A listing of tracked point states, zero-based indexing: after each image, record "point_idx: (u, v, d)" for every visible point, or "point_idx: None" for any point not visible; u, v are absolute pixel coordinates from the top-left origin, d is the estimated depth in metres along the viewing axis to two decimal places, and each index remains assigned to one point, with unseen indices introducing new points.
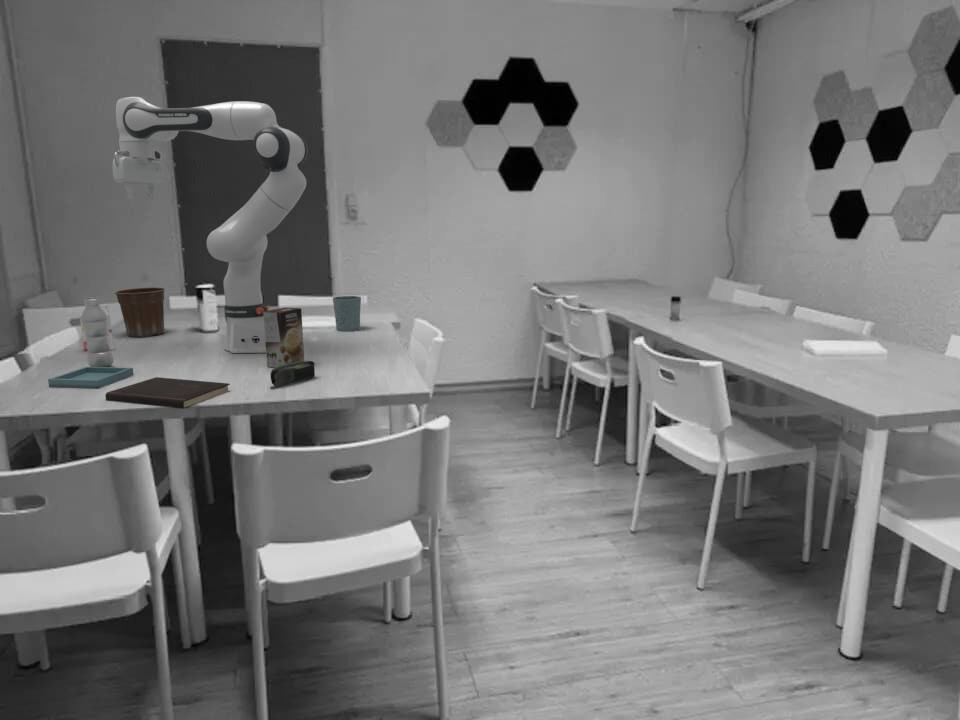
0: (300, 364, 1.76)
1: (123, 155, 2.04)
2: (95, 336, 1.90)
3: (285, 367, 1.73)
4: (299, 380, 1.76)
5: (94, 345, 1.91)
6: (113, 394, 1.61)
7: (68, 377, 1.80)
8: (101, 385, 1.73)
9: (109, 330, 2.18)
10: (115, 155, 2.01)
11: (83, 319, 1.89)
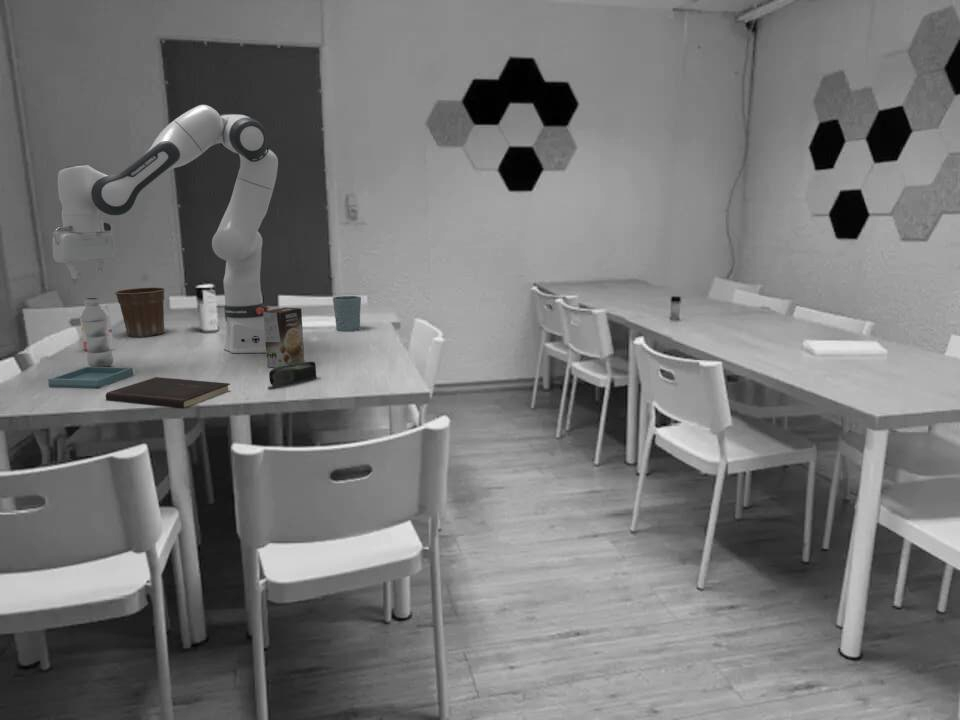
0: (300, 365, 1.76)
1: (65, 231, 1.80)
2: (95, 336, 1.90)
3: (284, 367, 1.72)
4: (299, 381, 1.75)
5: (94, 345, 1.91)
6: (113, 394, 1.61)
7: (68, 377, 1.80)
8: (101, 385, 1.73)
9: (109, 330, 2.18)
10: (55, 233, 1.76)
11: (83, 319, 1.89)
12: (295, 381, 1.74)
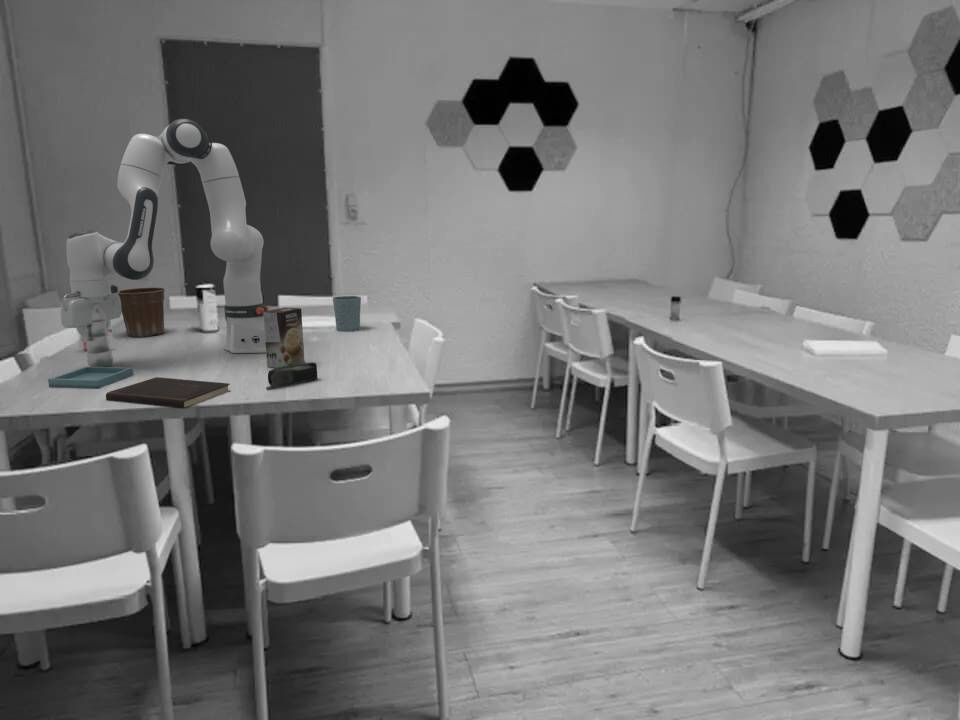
0: (300, 366, 1.75)
1: (73, 297, 1.83)
2: (95, 336, 1.90)
3: (283, 368, 1.71)
4: (298, 382, 1.75)
5: (94, 345, 1.91)
6: (113, 394, 1.61)
7: (68, 377, 1.80)
8: (101, 385, 1.73)
9: (109, 330, 2.18)
10: (63, 300, 1.80)
11: None
12: (294, 382, 1.74)
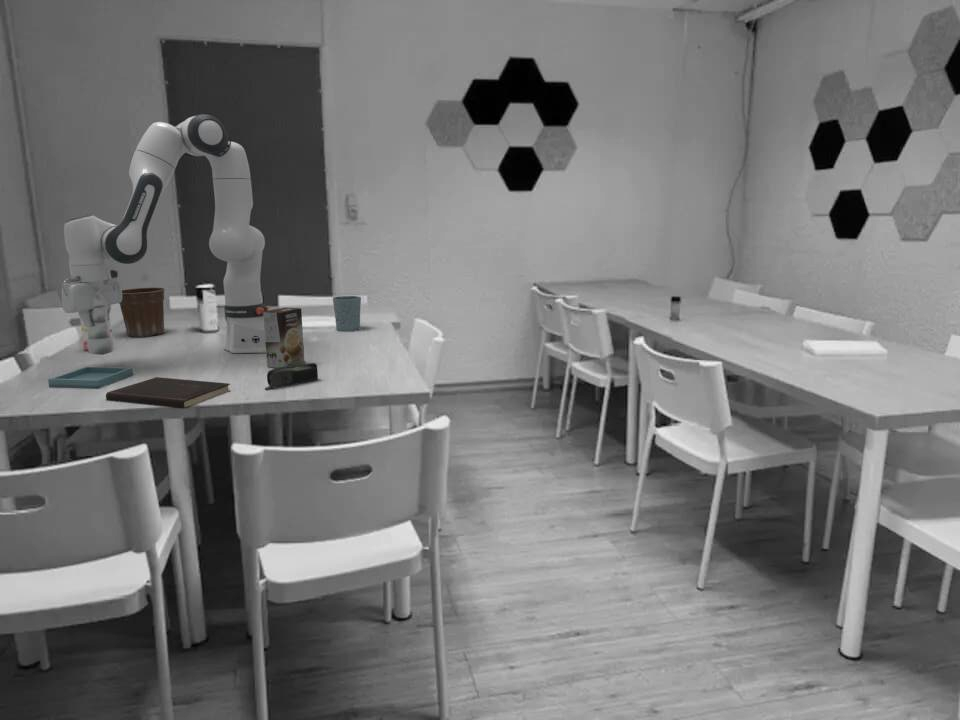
0: (300, 366, 1.74)
1: (73, 282, 1.83)
2: (96, 322, 1.90)
3: (282, 369, 1.71)
4: (298, 382, 1.74)
5: (95, 331, 1.90)
6: (113, 394, 1.61)
7: (68, 377, 1.80)
8: (101, 385, 1.73)
9: None
10: (63, 284, 1.79)
11: None
12: (294, 382, 1.73)
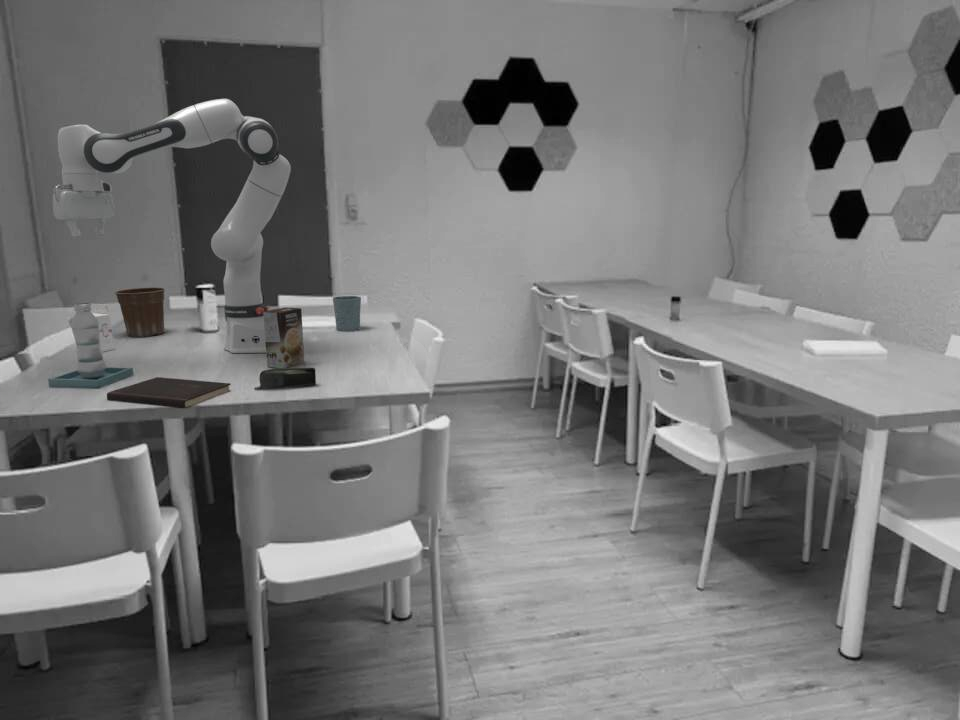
0: (294, 370, 1.70)
1: (65, 189, 1.83)
2: (86, 344, 1.76)
3: (274, 370, 1.69)
4: (291, 386, 1.71)
5: (85, 354, 1.76)
6: (114, 394, 1.61)
7: (68, 377, 1.80)
8: (101, 385, 1.73)
9: (109, 330, 2.18)
10: (55, 190, 1.80)
11: (73, 326, 1.74)
12: (286, 385, 1.70)
